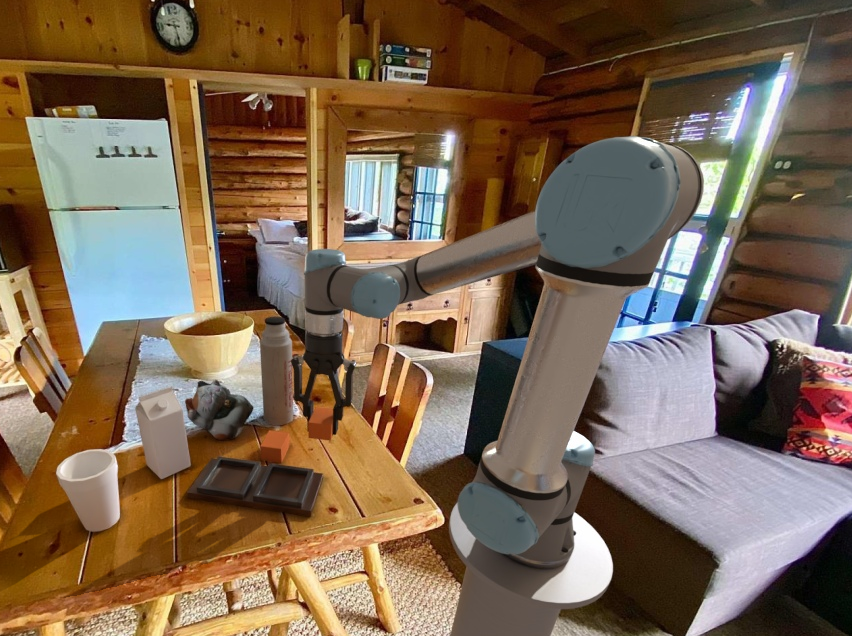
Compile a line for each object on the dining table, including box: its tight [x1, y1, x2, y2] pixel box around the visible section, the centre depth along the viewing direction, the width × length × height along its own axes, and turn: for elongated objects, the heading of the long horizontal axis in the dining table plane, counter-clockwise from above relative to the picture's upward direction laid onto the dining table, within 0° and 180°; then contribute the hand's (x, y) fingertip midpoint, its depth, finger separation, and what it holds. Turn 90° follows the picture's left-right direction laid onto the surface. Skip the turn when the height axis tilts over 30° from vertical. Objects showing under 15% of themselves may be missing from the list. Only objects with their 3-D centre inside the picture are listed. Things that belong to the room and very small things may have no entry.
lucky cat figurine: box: [184, 379, 254, 441], centre depth 112 cm, size 15×12×14 cm
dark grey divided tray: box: [186, 455, 324, 517], centre depth 93 cm, size 26×12×3 cm, turn 80°
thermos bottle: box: [259, 316, 294, 426], centre depth 113 cm, size 8×8×28 cm
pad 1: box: [259, 429, 290, 464], centre depth 104 cm, size 5×7×4 cm
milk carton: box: [134, 386, 192, 480], centre depth 95 cm, size 7×7×19 cm
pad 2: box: [307, 406, 334, 442], centre depth 97 cm, size 5×7×4 cm
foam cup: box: [55, 448, 121, 533], centre depth 81 cm, size 10×9×13 cm
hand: (322, 429), depth 98 cm, fingers closed on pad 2, 5 cm apart
